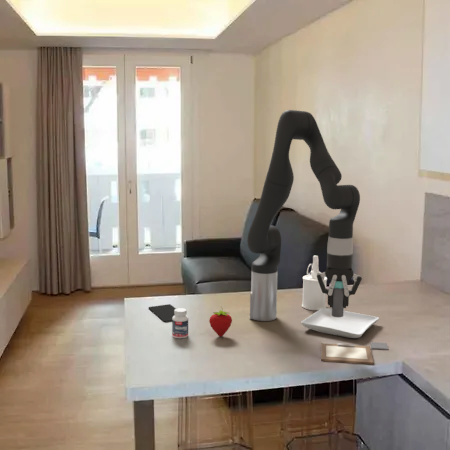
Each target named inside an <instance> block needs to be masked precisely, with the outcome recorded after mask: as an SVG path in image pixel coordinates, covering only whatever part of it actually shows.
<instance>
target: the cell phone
mask: <svg viewBox="0 0 450 450" xmlns="http://www.w3.org/2000/svg"><path fill="white" fill-rule="evenodd" d="M175 309H177V308H176V307H174V305H172V304H162V305H161V304H160V305H154V306H153V305H152V306H149V307H148V310H149V311H151V312H152V313H153V315H155V316H156V317H158V318H159V320H161V321H162V322H163V323H172V318H173V316H174V315H175V314H174V310H175Z"/></svg>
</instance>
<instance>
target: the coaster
mask: <svg viewBox="0 0 450 450" xmlns="http://www.w3.org/2000/svg"><path fill="white" fill-rule="evenodd" d="M370 349H371V350H383V351H389V347H388V343H387V342H376V341H375V342H374V341H370Z"/></svg>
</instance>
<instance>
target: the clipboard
mask: <svg viewBox="0 0 450 450" xmlns="http://www.w3.org/2000/svg"><path fill="white" fill-rule="evenodd" d="M320 361H321V362H332V363H334V362H336V363H346V364H349V363H350V364H361V365H362V364H363V365H374V359H373V354H372V348H371V345H369V346H367V345H354V343H342V342H337V343H323V342H322V343H321V344H320Z"/></svg>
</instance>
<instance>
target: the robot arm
mask: <svg viewBox="0 0 450 450" xmlns="http://www.w3.org/2000/svg"><path fill="white" fill-rule="evenodd" d="M278 119H279V120H278V122H277V126H276V130H275V131H276V132H275V138H274V143H273V149H272V155H271V157H270V158H271V159H270V161H269V166H268V168H267V169H268V170H267V173H266V176H265V180H264V182H263V183H264V184H263V187H262V192H261V195H260V199H259V203H258V205H257V209H256V212H255V215H254V217H253V220H252V222H251V225H250V228H249V230H248V233H247V238H246V239H247V240H246V241H247V242H246V243H247V247H248V249H249V251H250V252H251V253H252V254H259V256H258V257H257V258H256V259H255V260H254V261H252V262H251V263H252V264H251V272H250V273H251V274H250V275H251V281H250V286H251V287H250V294H249V297H250V298H249V320H255V321H259V322H271V321H274V320H275V319H277V313H278V312H277V306H278V303H277V302H278V299H277V298H278V267H279V265H280V262H281V254H282V253H281V252H282V251H281V250H282V236H281V232H280V230H279V228H278V227H276V226H275V225H271V224H272V221H273V219H274V218H275V216H276V215H277V214H278V213H279V211H280V210H281V209H282V208H283V206H284V205H285V204H286V203H287V201H288V199H289V197H290V194H291V192H292V187H293V184H294V171H293V167H292V164H291V163H292V162H291V161H290V160H291V159H290V150H291V145H292V142H293V140H299V141H302V140H303V141H304V142H305V144H306V145H307V147H308V148H309V150H310V152H309V165H310V169H311V171H312V173H313V174H314V176H315V177H316V179H317V181H318V182H319V185H320V190H321V193H322V194H321V195H322V198H323V202H324V204H325V205H326V206H327V207H328V208H329V209H331V210H340V211H339V213H338V215H337V214H336V216H332V217H331V218H330V219H329V223H328V240H327V245H326V246H327V248H326V251H327V252H326V253H327V254H326V268H325V271H323V272H321V273H318V274H317V279H318V282H319V285H320V287H321V290H322V293H325V294H326V296H327V306H329V308H332V297H333V296H332V292H333V289H334V286H335V282H336V281H342V282H343V287H344V309H347V307H348V306H349V300H350V299H349V298H350V296H352V295H354V296H355V295H356V292H357V291H358V288H359V286H360V284H361V282H362V280H363V279H362V276H361V274H356V273H354V270H353V257H354V256H353V255H354V241H353V240H354V239H353V235H354V233H353V231H354V222H355V219H356V217H357V213H358V210H359V206H360V201H361V195H360V192H359V189H358V187H356V186H355V185H353V184H339V183H340V182H341V180H342V172H341V171H340V169H339V167H338V166H337V164H336V163H335V160H333V158H332V156H331V154H330V153H329V150H328V148H327V145H326V144H325V141H324V139H323V136H322V134H321V131H320V128H319V126H318V123H317V120H316V119H315V117H314V116H313V114H312V113H311V112H308V111H306V110H305V111H304V110H297V109H296V110H294V109H287V110H284V111H283V112H282V113H281V114H280V116H279V118H278ZM324 277H327V280H328V281H329V282H330V283H329V286H328V288H327V287H326V288H325V285H324V282H323V280H324ZM352 278H353V281H354V282H353V285H352V286H351V289H349V287H348V283H349V282H350V281H351V279H352Z"/></svg>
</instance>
